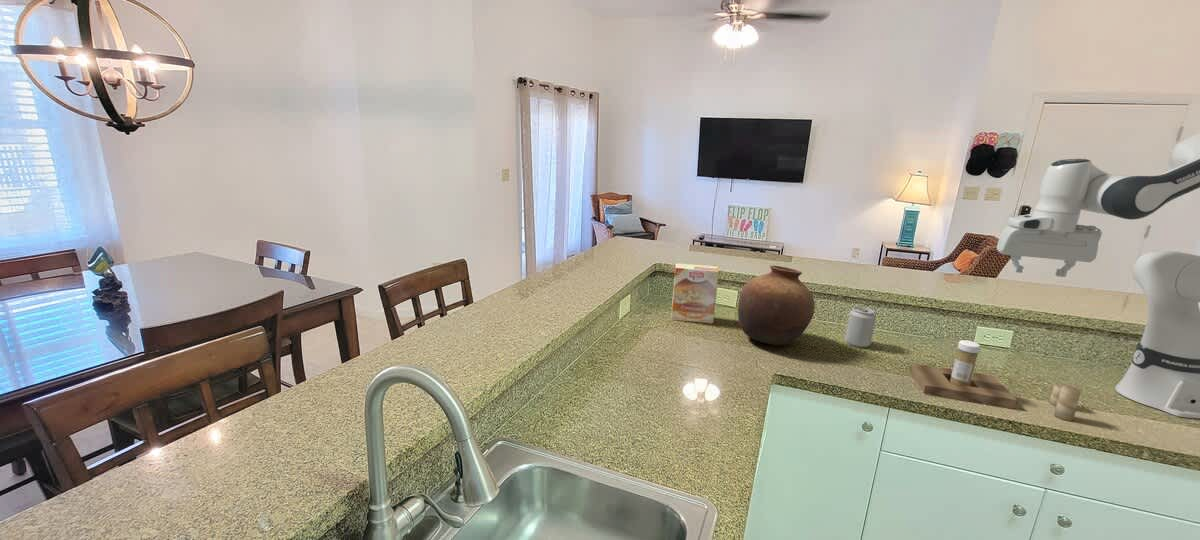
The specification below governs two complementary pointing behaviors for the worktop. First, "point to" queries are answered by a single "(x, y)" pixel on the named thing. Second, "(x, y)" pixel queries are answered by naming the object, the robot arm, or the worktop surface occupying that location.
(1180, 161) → the robot arm
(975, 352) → the sprinkles bottle
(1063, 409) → the medium beech dowel
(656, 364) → the worktop surface
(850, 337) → the can
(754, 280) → the pottery
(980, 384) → the walnut board
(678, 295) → the coffeecake box
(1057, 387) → the short beech dowel
